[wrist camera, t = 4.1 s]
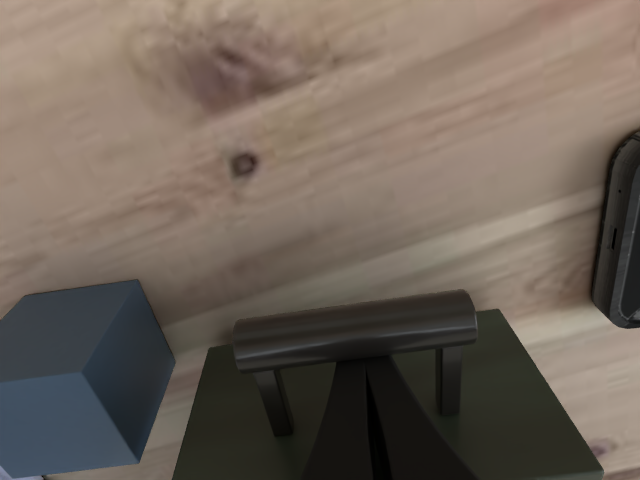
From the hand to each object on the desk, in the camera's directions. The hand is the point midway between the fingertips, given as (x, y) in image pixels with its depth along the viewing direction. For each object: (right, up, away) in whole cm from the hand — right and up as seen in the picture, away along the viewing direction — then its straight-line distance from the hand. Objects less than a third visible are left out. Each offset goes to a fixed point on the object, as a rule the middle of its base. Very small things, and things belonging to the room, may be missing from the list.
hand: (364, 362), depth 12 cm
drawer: (+1, -3, +6) cm, 7 cm away
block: (-10, 0, +5) cm, 11 cm away
